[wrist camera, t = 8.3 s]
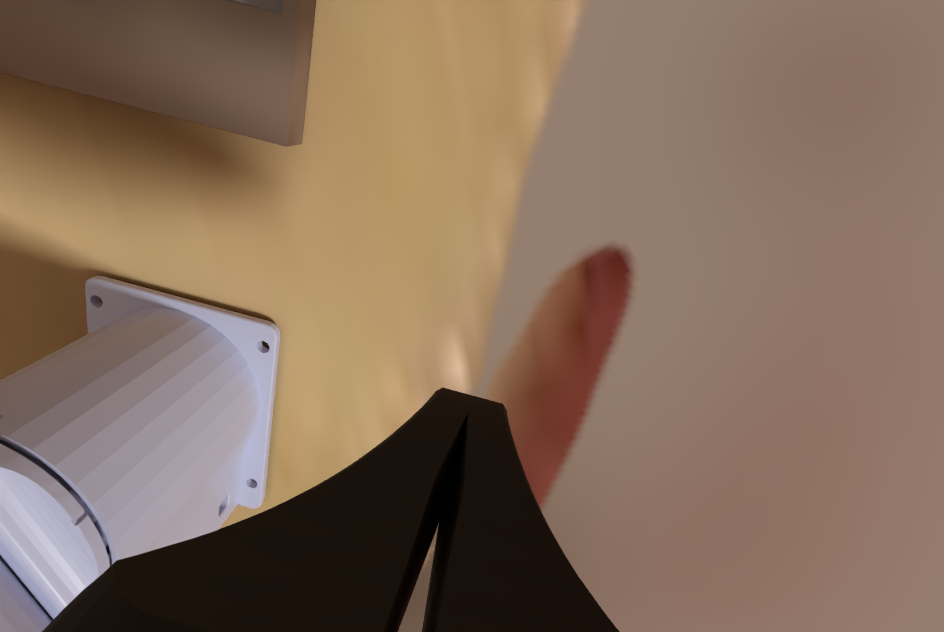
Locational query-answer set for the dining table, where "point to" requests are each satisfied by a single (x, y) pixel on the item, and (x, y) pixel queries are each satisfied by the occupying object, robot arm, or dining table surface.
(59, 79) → the grey slider rail
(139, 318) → the robot arm
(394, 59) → the dining table surface
